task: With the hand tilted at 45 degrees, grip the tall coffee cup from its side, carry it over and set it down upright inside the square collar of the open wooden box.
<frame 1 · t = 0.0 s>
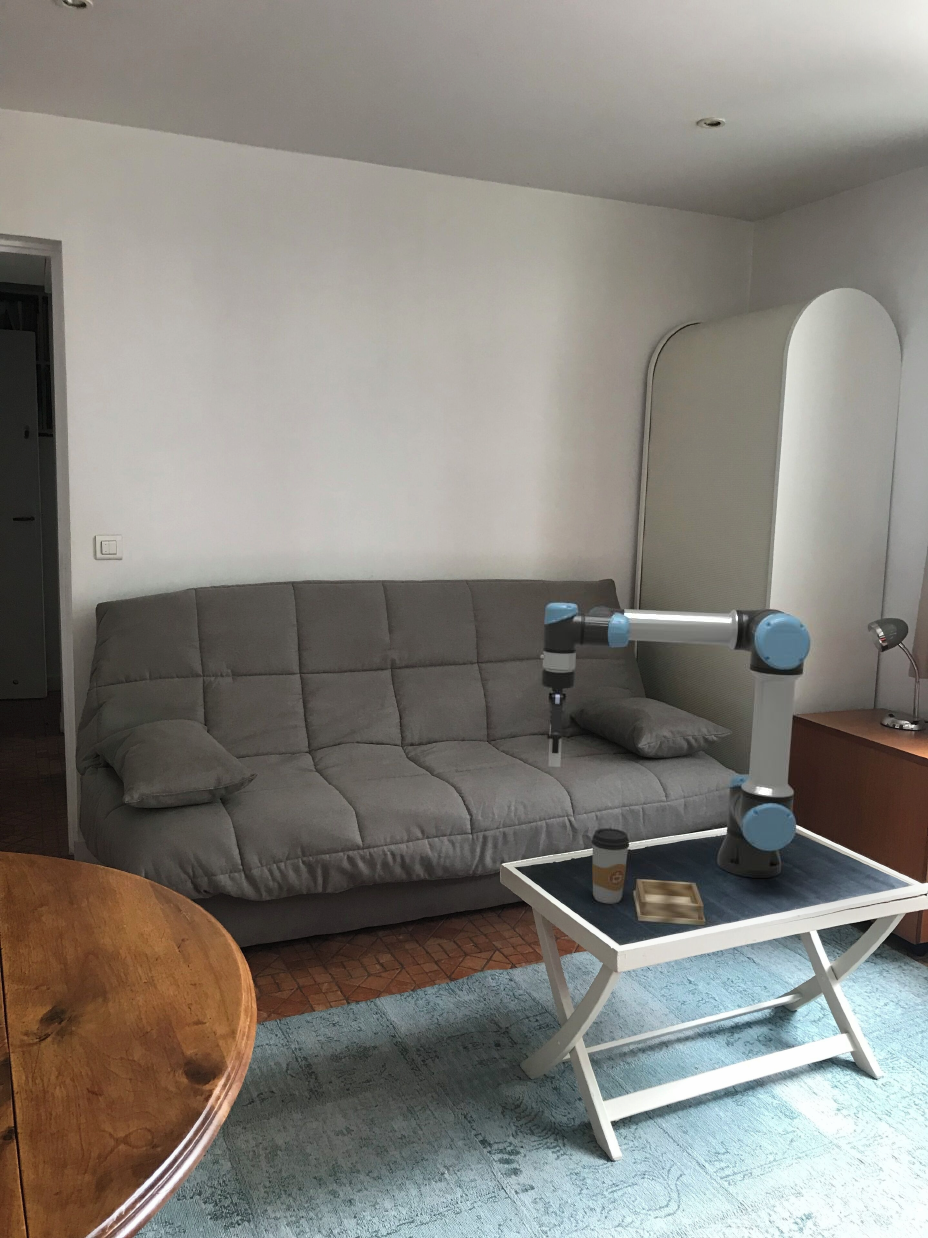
hand: (554, 759, 233), 28 cm above the table, tool pointing down, fingers open, 13 cm apart
coffee cup: (607, 899, 223), on the table
open wooden box: (668, 909, 218), on the table
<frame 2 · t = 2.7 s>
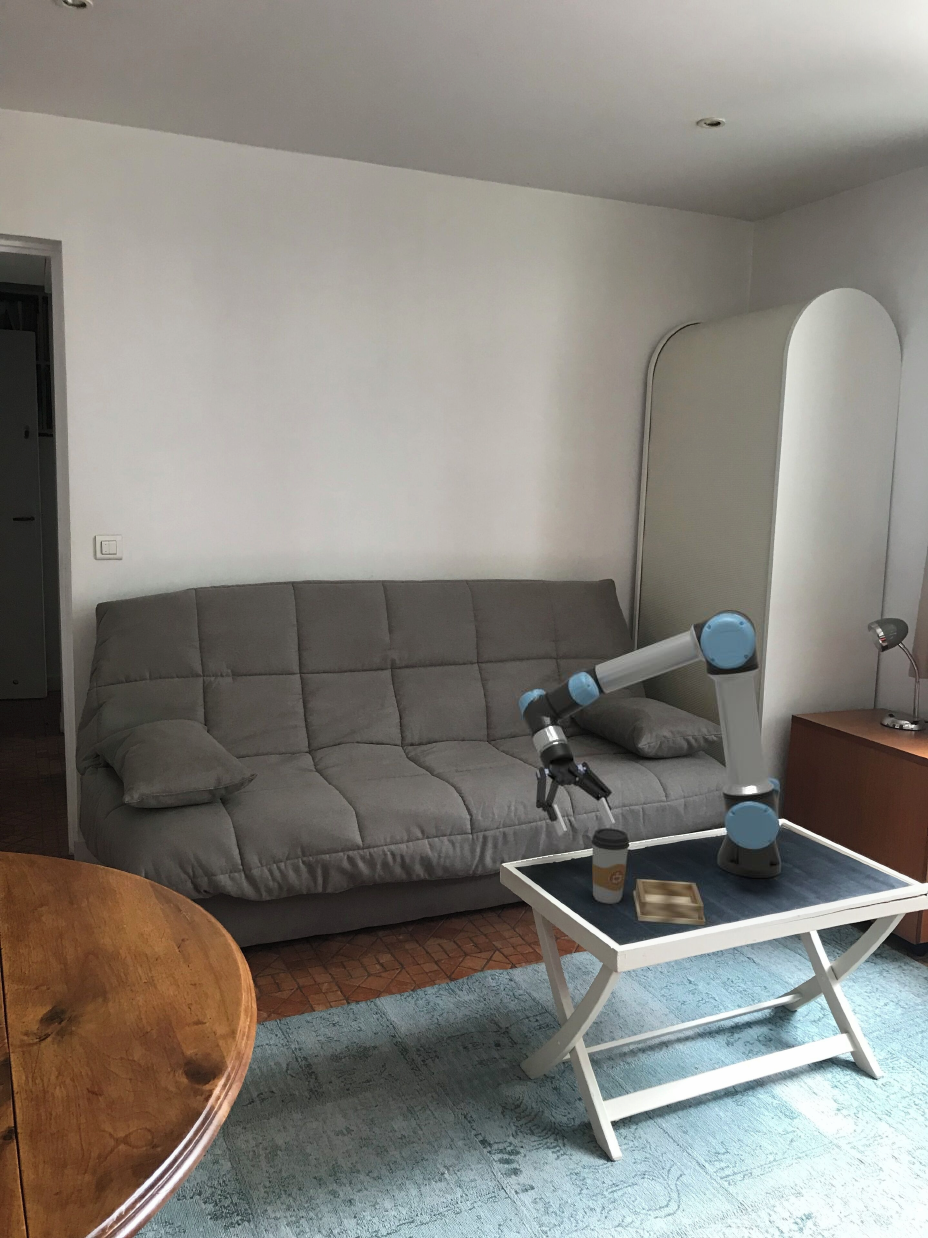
hand: (587, 829, 228), 14 cm above the table, tool tilted 45°, fingers open, 13 cm apart
nothing on the table moved.
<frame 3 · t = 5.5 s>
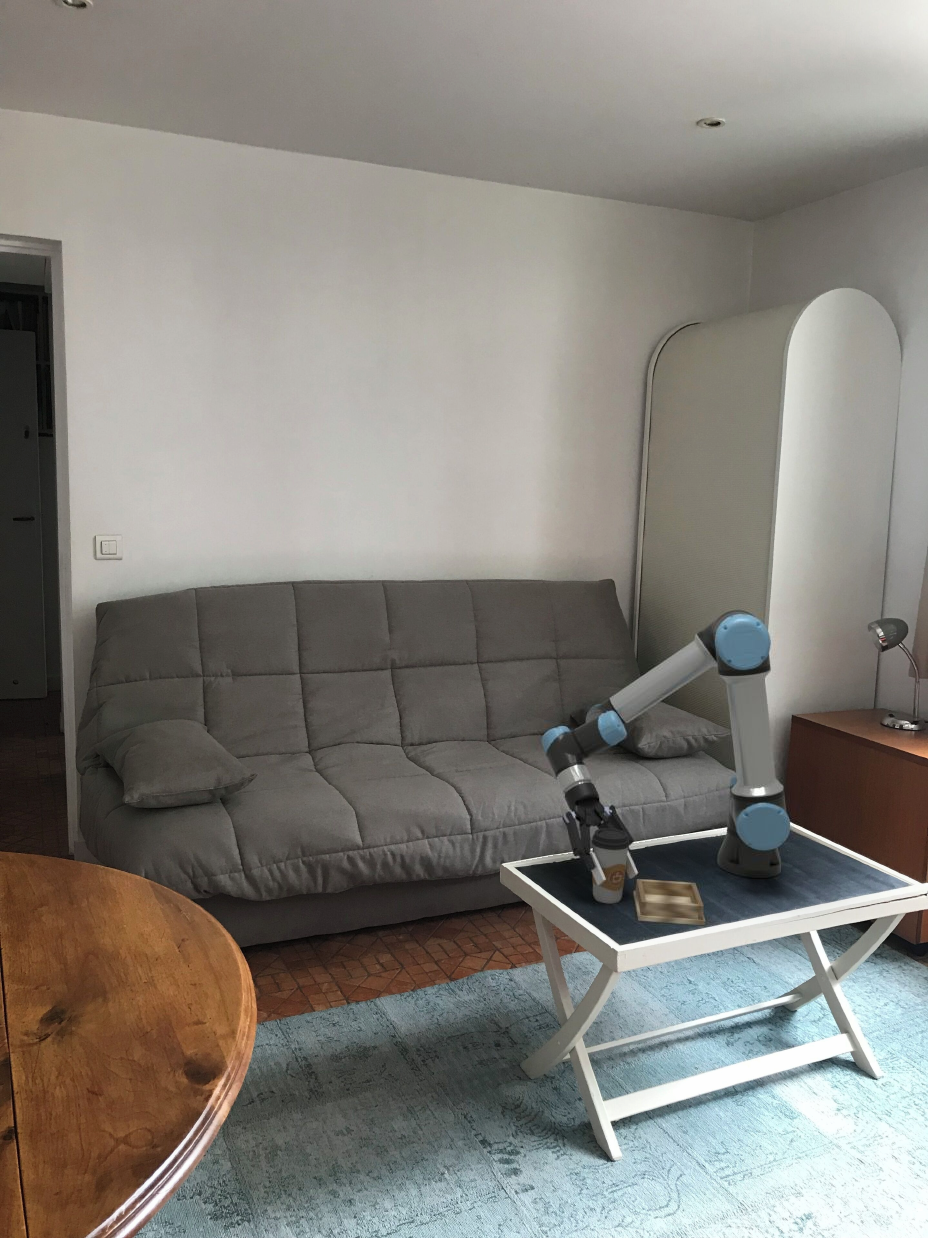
hand: (618, 879, 219), 6 cm above the table, tool tilted 45°, fingers closed on coffee cup, 8 cm apart
coffee cup: (607, 899, 223), on the table, touching gripper
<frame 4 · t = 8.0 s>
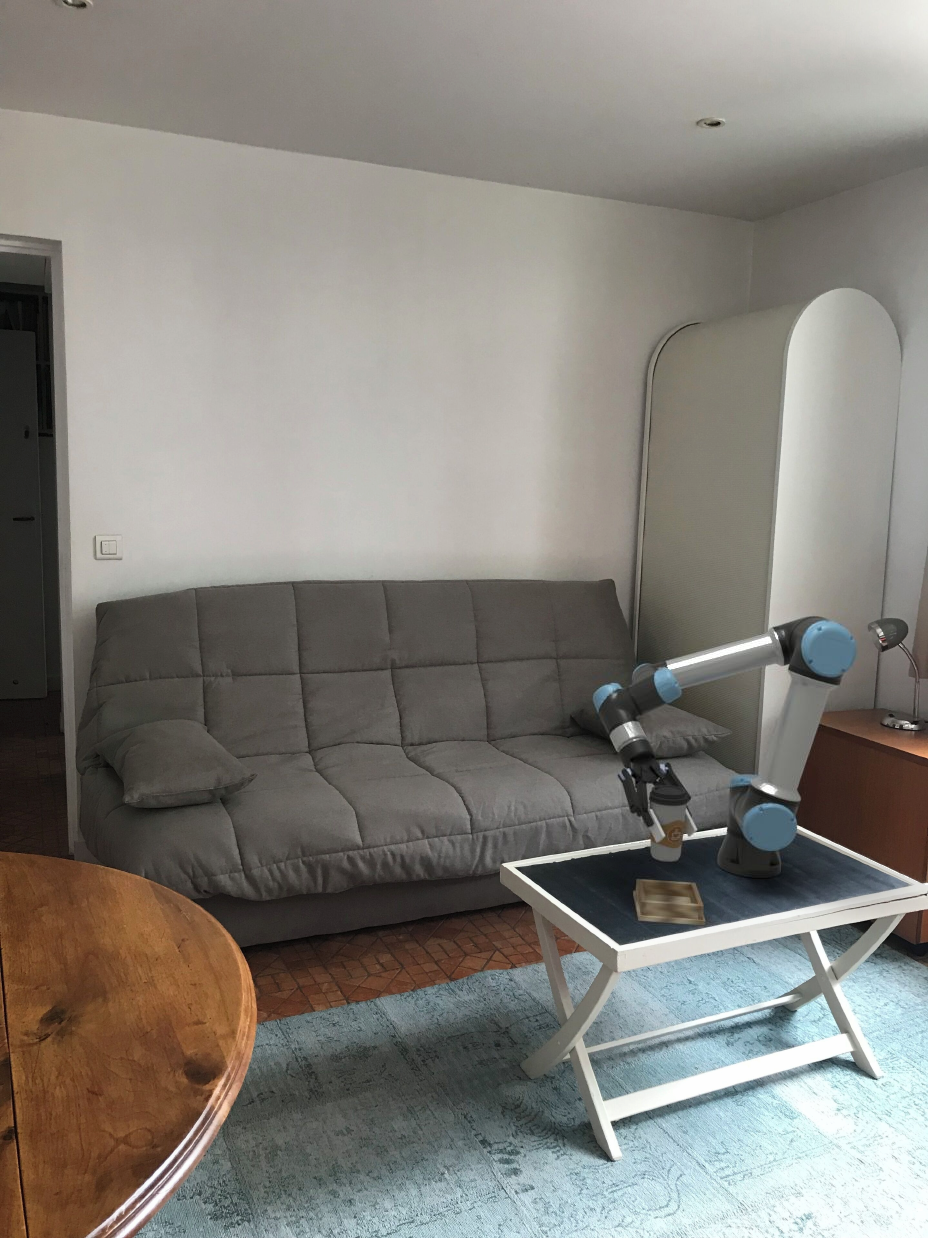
hand: (677, 836, 213), 18 cm above the table, tool tilted 45°, fingers closed on coffee cup, 8 cm apart
coffee cup: (665, 857, 217), point 12 cm above the table, touching gripper
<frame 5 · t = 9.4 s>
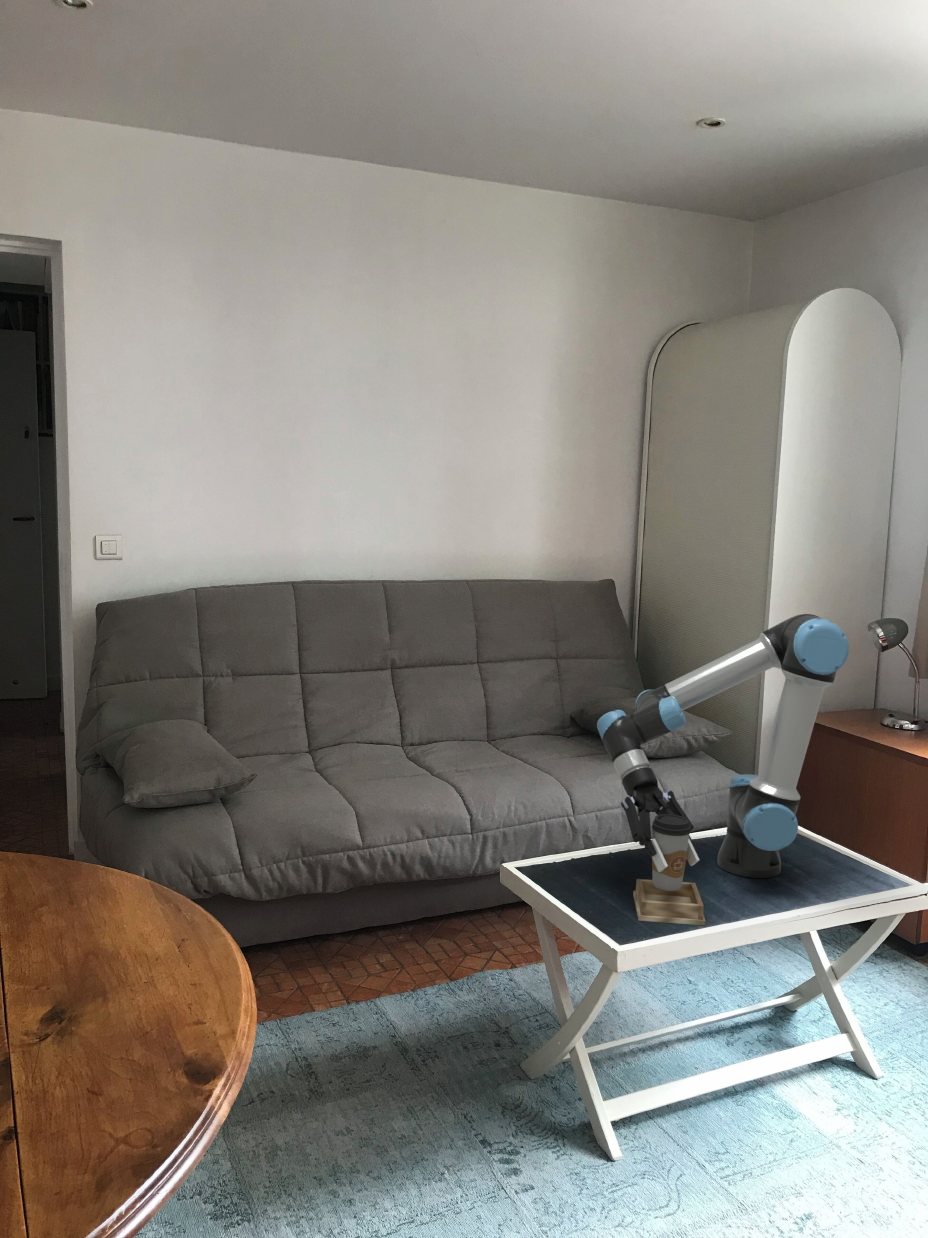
hand: (679, 866, 214), 11 cm above the table, tool tilted 45°, fingers closed on coffee cup, 8 cm apart
coffee cup: (666, 886, 217), point 5 cm above the table, touching gripper
when the fingers open (8 cm above the table, at t = 10.4 s): coffee cup drops 1 cm, resting on open wooden box.
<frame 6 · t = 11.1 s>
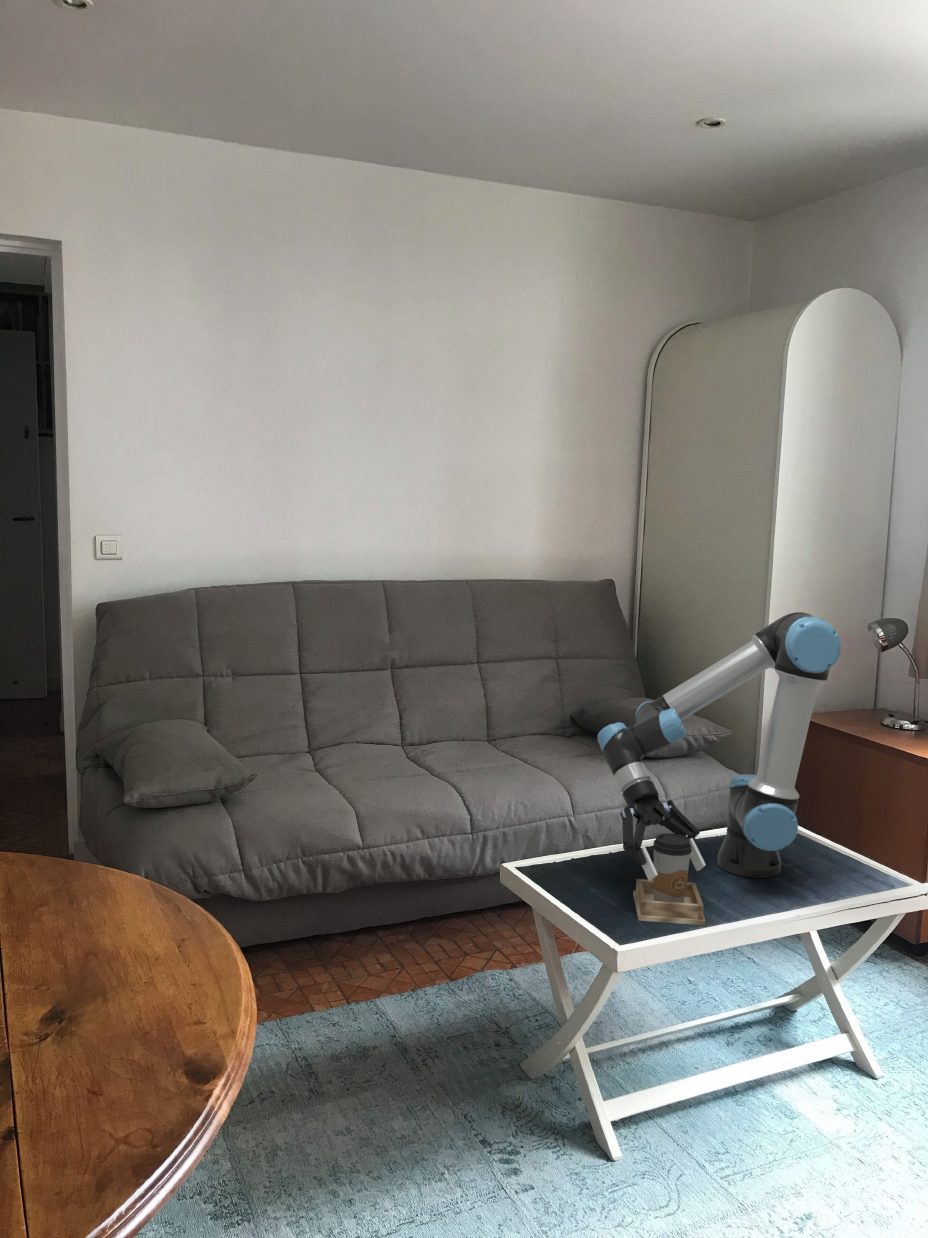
hand: (677, 873, 215), 9 cm above the table, tool tilted 45°, fingers open, 13 cm apart
coffee cup: (668, 906, 218), point 1 cm above the table, touching open wooden box
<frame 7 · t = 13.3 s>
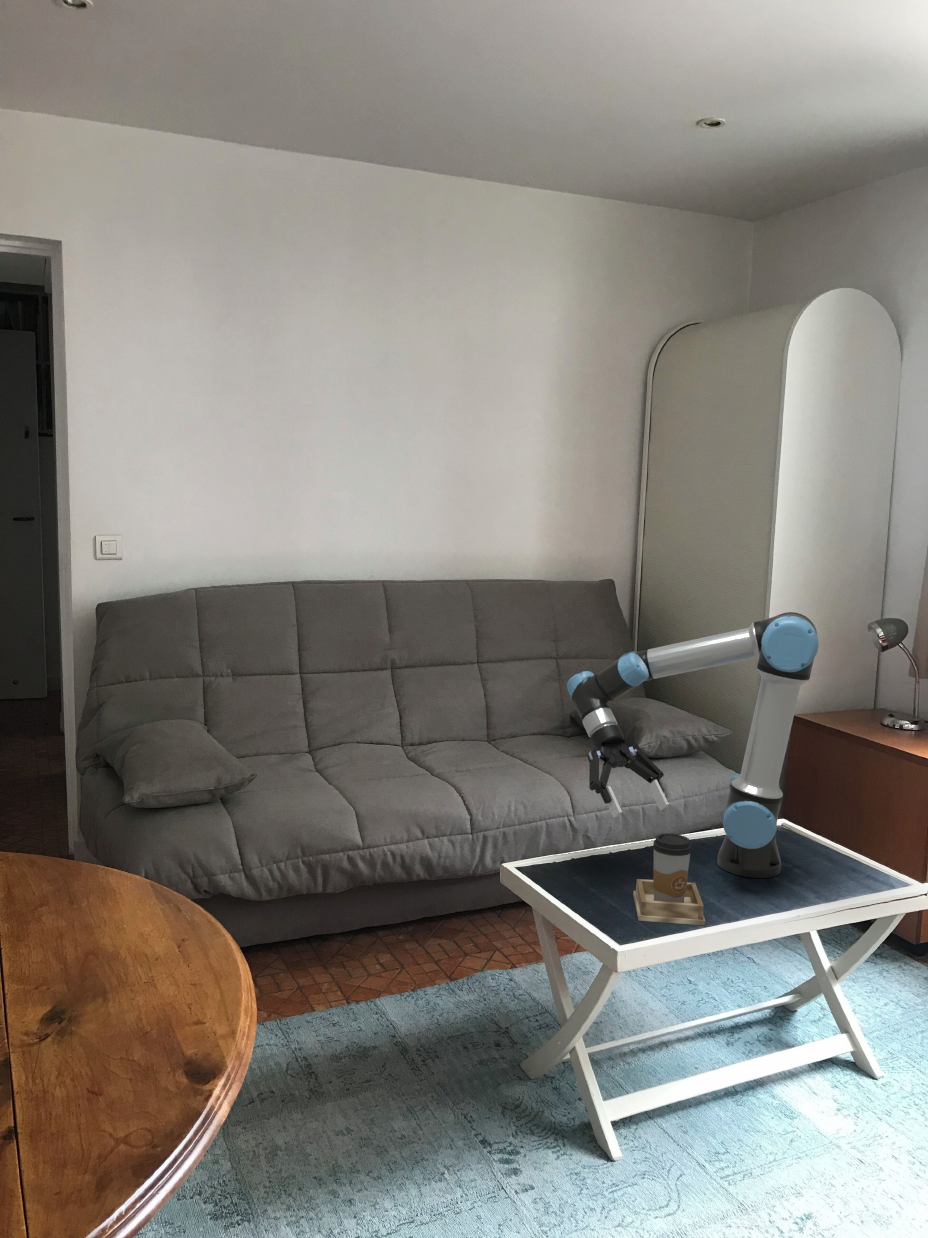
hand: (641, 811, 225), 19 cm above the table, tool tilted 45°, fingers open, 13 cm apart
nothing on the table moved.
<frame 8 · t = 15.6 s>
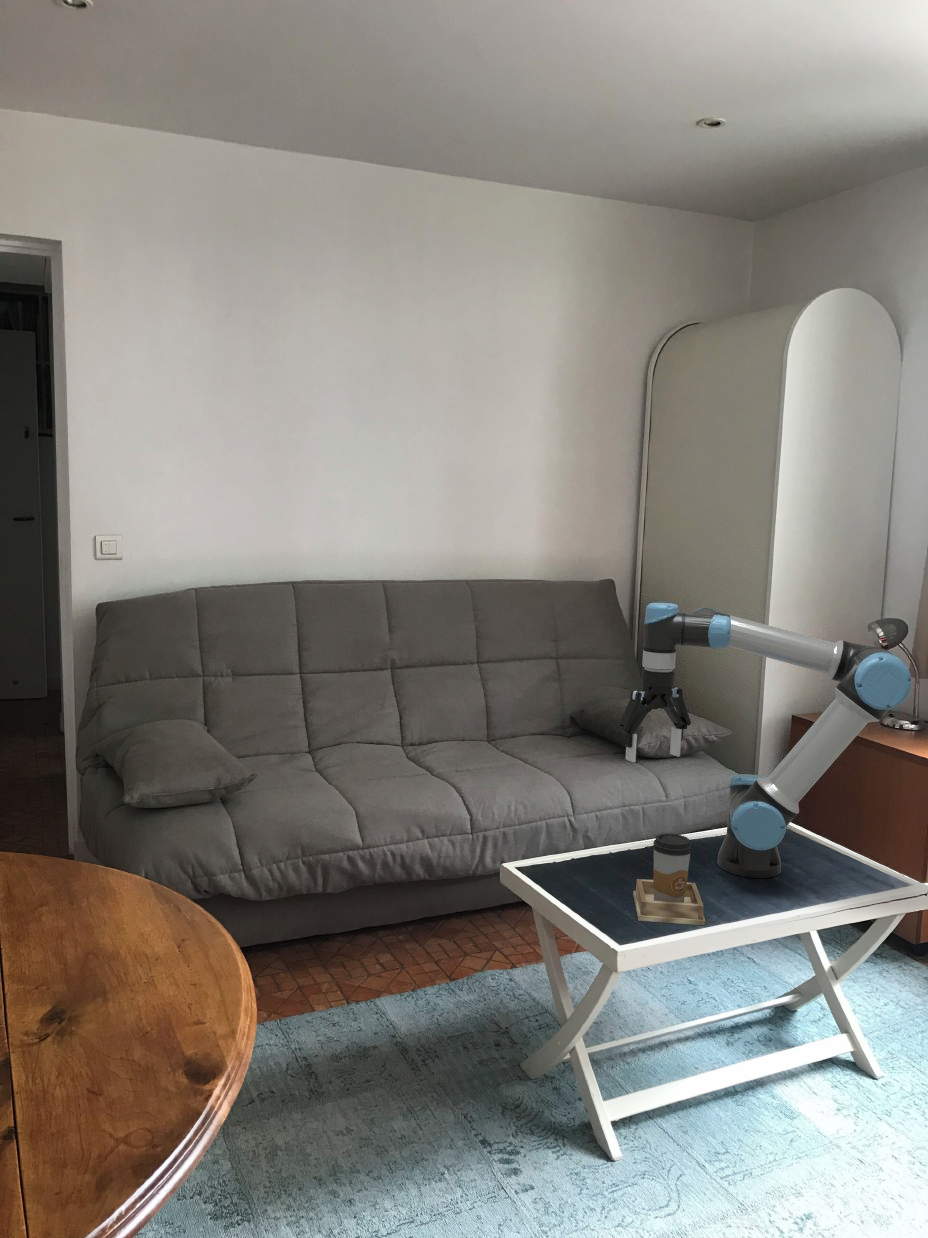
hand: (653, 758, 235), 29 cm above the table, tool pointing down, fingers open, 13 cm apart
nothing on the table moved.
at the end: coffee cup 0.1 cm off-centre on the open wooden box, point 0.8 cm above the open wooden box's base; coffee cup tilted 0°; the gripper is holding nothing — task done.
